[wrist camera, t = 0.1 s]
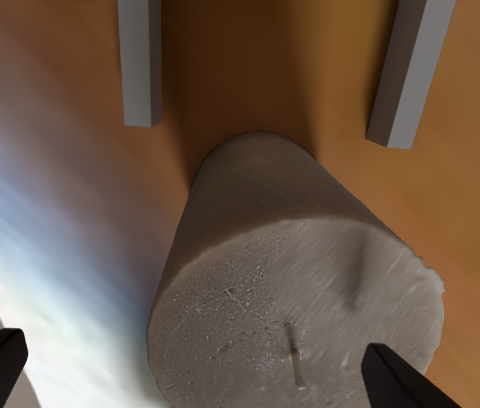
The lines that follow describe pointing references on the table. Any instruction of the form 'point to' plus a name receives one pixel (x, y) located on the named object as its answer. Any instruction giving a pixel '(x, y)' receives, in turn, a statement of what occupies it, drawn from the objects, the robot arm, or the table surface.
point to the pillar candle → (283, 287)
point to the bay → (390, 86)
